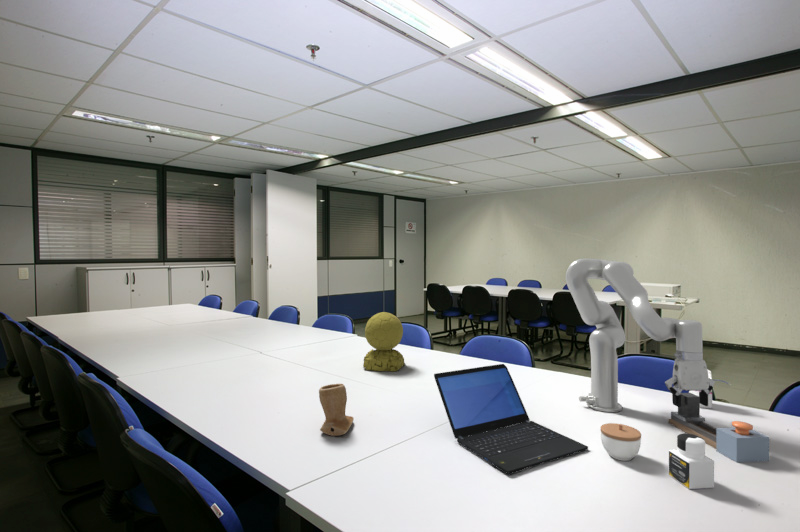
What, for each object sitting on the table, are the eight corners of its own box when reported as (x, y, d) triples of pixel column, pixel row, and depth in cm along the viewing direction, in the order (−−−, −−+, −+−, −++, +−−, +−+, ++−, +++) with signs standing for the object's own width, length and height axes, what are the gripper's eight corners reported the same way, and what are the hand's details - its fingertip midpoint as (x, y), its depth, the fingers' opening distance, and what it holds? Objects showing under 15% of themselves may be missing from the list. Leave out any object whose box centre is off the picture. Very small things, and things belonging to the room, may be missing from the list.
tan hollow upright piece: (325, 419, 152) (324, 379, 152) (356, 421, 150) (356, 380, 150) (311, 437, 137) (310, 392, 137) (346, 438, 135) (345, 393, 135)
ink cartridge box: (688, 400, 171) (688, 365, 171) (701, 401, 170) (701, 365, 170) (698, 407, 163) (698, 370, 162) (712, 408, 162) (713, 371, 162)
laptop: (507, 479, 111) (507, 407, 111) (432, 428, 144) (432, 373, 144) (590, 451, 126) (590, 389, 126) (505, 412, 160) (505, 362, 159)
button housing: (736, 462, 119) (736, 438, 119) (716, 451, 126) (716, 428, 126) (769, 461, 119) (769, 437, 119) (747, 450, 126) (747, 427, 126)
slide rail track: (719, 450, 126) (719, 438, 126) (668, 422, 148) (668, 411, 148) (744, 450, 126) (744, 437, 126) (689, 422, 148) (689, 411, 148)
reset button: (741, 440, 120) (741, 427, 120) (727, 433, 125) (727, 421, 125) (757, 440, 120) (757, 427, 120) (742, 433, 125) (742, 420, 125)
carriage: (685, 426, 140) (685, 397, 140) (672, 419, 146) (672, 392, 146) (704, 425, 141) (705, 397, 141) (691, 419, 147) (691, 391, 147)
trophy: (359, 371, 219) (359, 314, 218) (369, 361, 240) (368, 309, 240) (400, 372, 215) (400, 315, 215) (407, 362, 237) (407, 310, 236)
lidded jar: (592, 451, 126) (592, 421, 126) (617, 445, 130) (617, 415, 130) (623, 467, 116) (623, 434, 116) (649, 460, 120) (649, 428, 120)
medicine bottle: (668, 475, 112) (668, 431, 112) (692, 473, 112) (693, 430, 112) (688, 489, 105) (688, 442, 105) (714, 488, 105) (715, 441, 105)
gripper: (673, 359, 139) (674, 410, 139) (722, 357, 140) (723, 408, 140) (658, 354, 146) (658, 402, 146) (704, 353, 147) (705, 400, 147)
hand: (690, 405), depth 143 cm, fingers open, 9 cm apart
